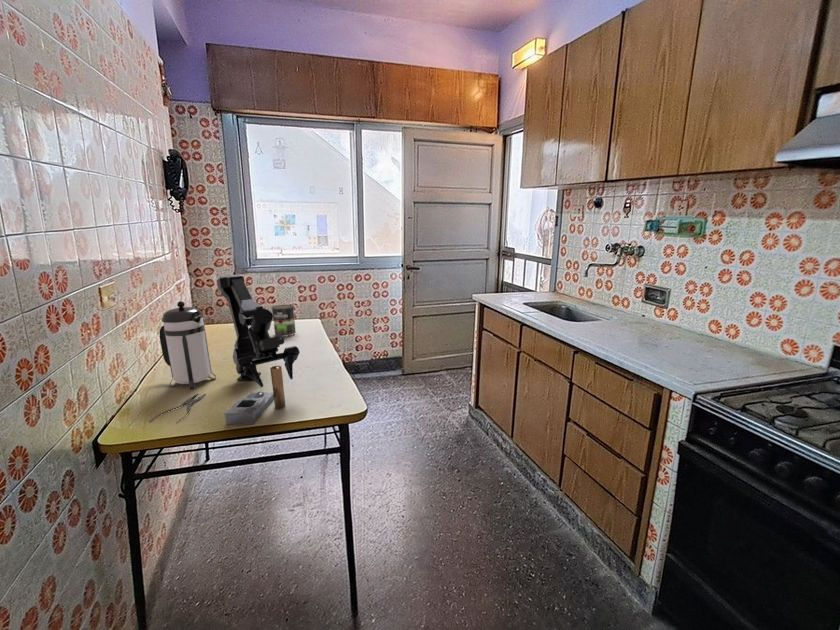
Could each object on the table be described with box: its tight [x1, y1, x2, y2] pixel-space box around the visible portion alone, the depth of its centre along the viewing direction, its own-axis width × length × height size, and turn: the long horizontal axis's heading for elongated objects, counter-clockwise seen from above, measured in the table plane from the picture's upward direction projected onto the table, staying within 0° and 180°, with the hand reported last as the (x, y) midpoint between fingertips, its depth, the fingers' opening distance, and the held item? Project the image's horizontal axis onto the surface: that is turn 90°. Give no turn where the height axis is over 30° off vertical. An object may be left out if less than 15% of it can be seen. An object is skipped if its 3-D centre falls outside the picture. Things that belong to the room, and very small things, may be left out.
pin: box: [269, 365, 287, 410], centre depth 130 cm, size 3×3×13 cm
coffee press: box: [158, 300, 217, 390], centre depth 149 cm, size 17×16×30 cm
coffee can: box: [271, 304, 297, 337], centre depth 210 cm, size 10×10×14 cm
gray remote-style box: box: [224, 391, 274, 426], centre depth 129 cm, size 18×8×4 cm, turn 179°
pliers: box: [148, 393, 207, 423], centre depth 132 cm, size 10×1×20 cm
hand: (277, 382), depth 129 cm, fingers open, 9 cm apart
